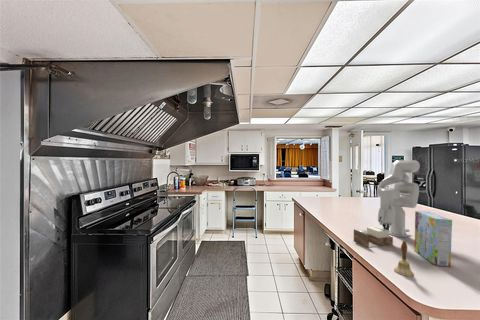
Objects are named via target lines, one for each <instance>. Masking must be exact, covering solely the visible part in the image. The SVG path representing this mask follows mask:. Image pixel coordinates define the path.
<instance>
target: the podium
mask: <svg viewBox="0 0 480 320" xmlns="http://www.w3.org/2000/svg"><path fill="white" fill-rule="evenodd" d="M357 230H358V229H353V241H354V242H355V243H357V244H359V245H361V246H364V247H366V248H377V247H378V246H379V247H382V246H383V247H385V246H384V245H386V246H393V244H394V238H393V237H394V236H391V235H389V237H386V238H377V237H374V236H372V235H369V234H367V233H362V232H360V231H357Z"/></svg>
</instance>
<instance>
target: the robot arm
mask: <svg viewBox="0 0 480 320" xmlns="http://www.w3.org/2000/svg"><path fill="white" fill-rule="evenodd" d="M420 167H421V165H420V162H419V161H418V160H415V159H414V160H410V159H409V160H408V159H407V160H406V159H401V160H395V161H394V162H393V163H392V165H391V168H390V172H389V175H388V176H386V177H385V178H384V179H382V180H381V181H380V182H379V184H378V186H377V189H376V195H377V196H378V198H379V199H380V200H379V201H380V202H379V204H380V205H379V208H378V214H377V222H378V224H379V225H381V226H382V228H383V229H386V230H389V236H392V237H394V236H395V237H399V238H407V237H408V236H409V235H408V233H410V229H407V228H406V211H405V209H404V208H408V209H415V208H417V205H418V201H419V200H418V199H419V194H420V186H419V183H416V182H409V181H410V176H409V175H408V174H407V173H409V174H411V173H412V174H413V173H416V172H418V171H419V170H420ZM390 185H391V186H392V185H394V187H393V188H391V187H389V188H388V187H387V186H390Z"/></svg>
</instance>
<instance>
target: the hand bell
mask: <svg viewBox="0 0 480 320" xmlns="http://www.w3.org/2000/svg"><path fill="white" fill-rule="evenodd" d="M400 249H401V253H402V254H401V255H402V256H401V259H400V260H398V264H397V266H396V267H395V268H394V269H393V271H394V272H395V273H396V274H398V275H401V276H405V277H413V276H414V275H415V274H414V272H413V271H412V269H411V267H410V262H408V261H407V252H408V245H407V241H405V240H402V243H401V245H400Z"/></svg>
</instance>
